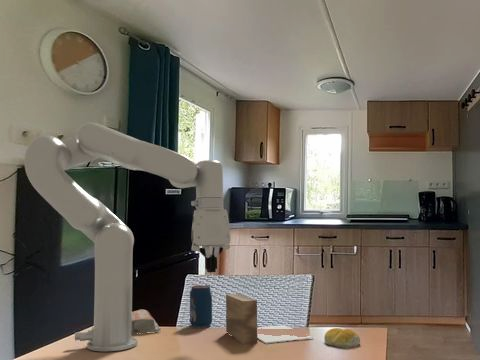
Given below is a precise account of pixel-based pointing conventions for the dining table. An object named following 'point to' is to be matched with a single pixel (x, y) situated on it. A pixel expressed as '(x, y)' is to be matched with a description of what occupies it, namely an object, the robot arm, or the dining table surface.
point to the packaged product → (143, 322)
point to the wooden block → (241, 318)
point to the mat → (274, 339)
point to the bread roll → (342, 338)
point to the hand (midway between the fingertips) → (211, 271)
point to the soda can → (200, 306)
